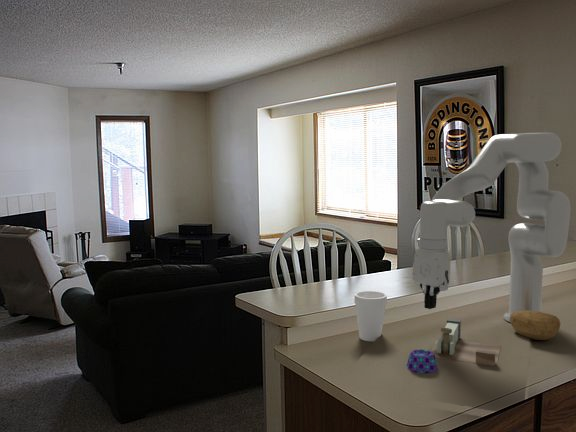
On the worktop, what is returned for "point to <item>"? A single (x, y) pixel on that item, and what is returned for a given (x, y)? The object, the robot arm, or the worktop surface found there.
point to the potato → (535, 324)
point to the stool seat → (467, 351)
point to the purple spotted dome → (422, 361)
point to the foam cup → (370, 313)
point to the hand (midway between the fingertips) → (430, 307)
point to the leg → (450, 335)
